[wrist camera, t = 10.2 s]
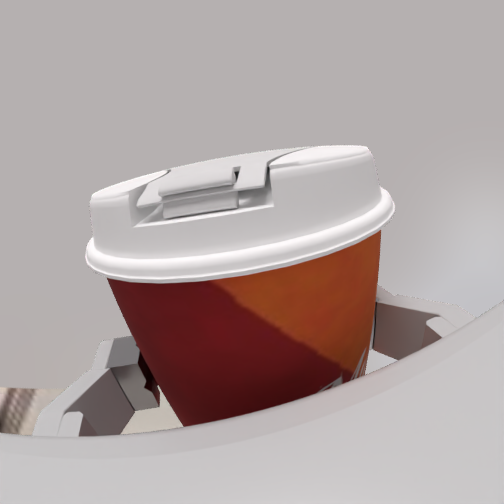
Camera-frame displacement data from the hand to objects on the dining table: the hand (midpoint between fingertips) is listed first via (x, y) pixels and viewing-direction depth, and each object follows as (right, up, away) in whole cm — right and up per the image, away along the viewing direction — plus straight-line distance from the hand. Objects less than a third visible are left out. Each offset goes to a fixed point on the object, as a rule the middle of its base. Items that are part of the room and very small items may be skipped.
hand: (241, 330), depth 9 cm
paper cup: (+2, -8, +3) cm, 9 cm away
